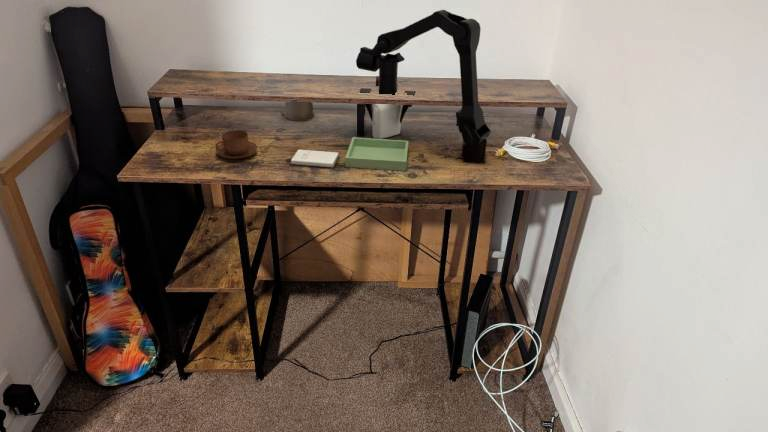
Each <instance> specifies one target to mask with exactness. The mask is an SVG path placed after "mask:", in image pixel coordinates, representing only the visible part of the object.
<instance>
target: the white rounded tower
mask: <svg viewBox="0 0 768 432" xmlns="http://www.w3.org/2000/svg"><path fill="white" fill-rule="evenodd" d="M372 106H373V122H372V125H371V127H372V128H371V129H372V133H371V136H372V139H387V138H390V137H394V136H397V135H399V134H401V126H402V125H401V124H402V122H401V123H400V117H401V111H402V104H401V105H391V104H376V103H375V104H374V105H372Z"/></svg>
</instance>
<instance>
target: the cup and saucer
mask: <svg viewBox="0 0 768 432" xmlns="http://www.w3.org/2000/svg"><path fill="white" fill-rule="evenodd" d="M257 151H258V145H257V144H256V143H255V142H252V141H250V140H249V134H248V132H246V131H245V130H240V129H239V130H238V129H235V130H234V129H233V130H228V131H225V132H224V133H222V134H221V140H219V141H217V142H216V143H215V153H216V155H218V156H220V157H221V158H224V159H228V160H241V159H245V158H249V157H251V156H252V155H254V154H255V153H256V152H257Z"/></svg>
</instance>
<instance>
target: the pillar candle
mask: <svg viewBox="0 0 768 432" xmlns="http://www.w3.org/2000/svg"><path fill="white" fill-rule="evenodd" d="M284 104H285V117H286V118H287V119H288V120H290V121H292V122H293V121H294V122H303V121H309V120H311V119H313V118H314V105H313V104H314V103H311V102H285V101H284Z"/></svg>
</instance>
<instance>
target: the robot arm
mask: <svg viewBox="0 0 768 432" xmlns="http://www.w3.org/2000/svg"><path fill="white" fill-rule="evenodd" d="M437 28H439V29H440V30H441V31H442V32H443V33H445V35H448V36H449V37H452V41H453V46H454V48H455V50H456V52H457V54H458V57H459V71H460V72H459V73H460V87H461V104H462V105H461V108H460V109H459V110H457V111H456V112H455V118H456V125H455V126H456V127H457V128H458V131H459V133H461V137H462V145H461V158H462V160H463V161H462V162H465V163H478V164H479V163H481V164H485V163H486V151H487V145H488V141H487V138H488V137H489V136H490V135H491V133H492V130H491V128H490V127H489V126H488V125H487V123H486V122H485V120H486V119H485V116H484V111H483V109H482V107H481V105H480V103H479V89H478V86H479V85H478V70H477V69H478V68H477V67H478V66H477V50H478V46H479V43H480V37H481V30H482V29H481V25H480V22H478V21H477V19H474V18H467V17H464V16H461V15H458V14H455V13H452V12H450V11H448V10H446V9H440V10H436V11H434V12H433V13H432V14H430V15H427V16H426V17H424V18H421V19H420V20H418V21H415V22H413V23H411V24H409V25H407V26H405V27H403V28H398V29H395V30H391V31H388V32H385V33H381V34H380V35H378V36H377V40H376V43H375V45H374V46H373V48H370V47H367V46H362V47H360V48H359V52H358V54H357V57H356V59H355V63H356V67H357V68H358V69H359V70H363V71H368V72H372V73H373V72H374V73H376V72H377V71H378V75H377V76H375V77H376V78H375V87H378V86H379V87H378V92H379V94H392V95H395V93H396V92H398V71H399V70H398V69H399V68H398V67H399V63H401V62H404V61H405V57H404V56H403V55H402V54H401V53H400V52H397V53H395V54H393V52H395V51H398V50H400V49H401V48H402V47H404V46H405V45H406V44H408V42H409V41H411V40H413V39H415V38H416V37H419V36H421V35H424V34H426V33H427V32H430V31H432V30H434V29H437ZM359 90H360V91H359ZM359 90H358V91H359V92H360V93H370V91H371V92H372V88H365V87H364V88H363V87H360V88H359ZM416 92H417V91H416V90H404V94H405V93H407V95H413V96H414V95H415V93H416ZM373 106H374V105H373V103H372V104H365V105H364V107H365V108H366V110H367V112H368V115H369V117H370V120H371V122H372V123H373ZM412 107H413V105H403V104H402V105H401V117H400V123H401V124H402V122H403V119H404V118H405V115H406V113H407V111H408V109H409V108H412Z"/></svg>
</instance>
